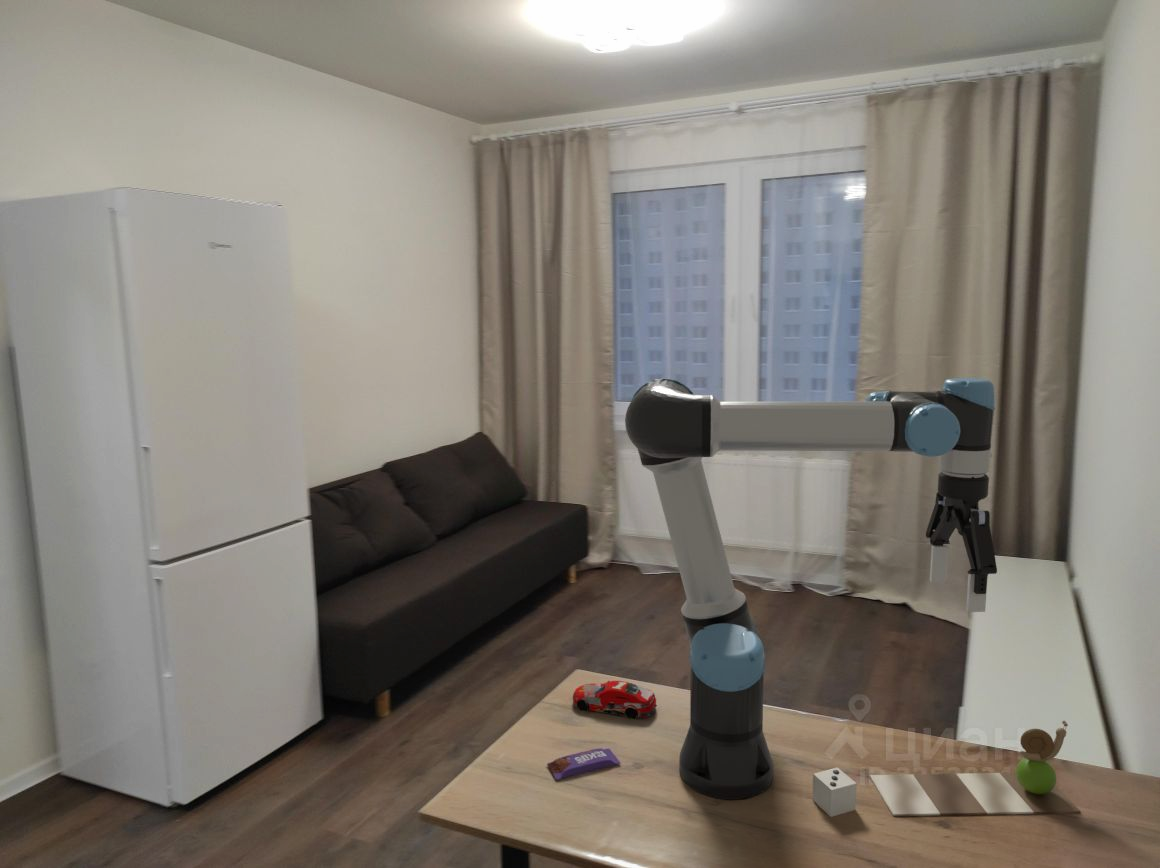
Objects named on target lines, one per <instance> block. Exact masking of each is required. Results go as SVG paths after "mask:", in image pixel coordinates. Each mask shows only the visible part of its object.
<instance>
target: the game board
mask: <svg viewBox="0 0 1160 868" xmlns="http://www.w3.org/2000/svg"><path fill="white" fill-rule="evenodd" d="M869 779H870V780H871V782H872V784H873V785H874V787H875V788H876V790H877V791H878V793H879V795H880V796H881V798H882V799H883V802H884V803H885V805H886V807H887V808H888V809H889V811H890V813H891V814H892V816H893V817H912V816H913V817H914V816H916V817H919V816H969V815H975V816H977V815H1018V814H1019V815H1024V814H1025V815H1028V814H1029V815H1030V814H1031V815H1033V814H1035V815H1036V814H1041V815H1042V814H1043V815H1044V814H1080V813H1081V810H1080V809H1079V807H1077V805H1076V804H1075V803H1073V802H1072V800H1070V799H1069V798H1068V796H1066V794H1064V792H1062V790H1061V789H1059V788H1058V786H1057V785H1055V787H1054V788H1053V789H1052V790H1051V791H1050V792H1048V793H1046V794H1034V793H1031V792H1029V791H1027V790H1026V789H1025V788H1023V787H1022V785H1021V784H1020V783H1019V781H1018V779H1017V775H1016V772H977V773H976V772H974V773H973V772H971V773H920V774H919V773H917V774H916V773H913V774H905V773H904V774H869Z"/></svg>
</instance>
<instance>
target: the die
mask: <svg viewBox="0 0 1160 868" xmlns="http://www.w3.org/2000/svg"><path fill="white" fill-rule="evenodd" d="M811 800H812V801H813V802H814V803H815V804H816V805H817V806H818V807H820V809H822V810H823V811H824V812H825V813H826V814H827V815H828V816H829V817H830V818H833V817H835V816H838V815H843V814H846V813H849V812H852V811H856V808H857V807H856V804H857V803H856V802H857V782H856V781H854V779H852V778H851V777H850V776H849V775H848V774H846V773H845V772H844V771H842V770H841V769H840V768H839V767H834V768H830V769H829V768H828V769H826V770H822V771H818V772H815V773H813V774H812V797H811Z"/></svg>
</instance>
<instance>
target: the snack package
mask: <svg viewBox="0 0 1160 868" xmlns="http://www.w3.org/2000/svg"><path fill="white" fill-rule="evenodd" d="M620 764H621V761H620V760H619V759H618V758H617V757H616V755H615V754H614V753H613V751H612V749H610V748H593V749H589V750H586V751H580V752H577V753H573V754H568V755H565V756H564V755H563V756H562V757H558V758H556V759H555V760H553V761H551V762H548V763H546V765H547V767H548V769H549V770H550V771H551V773H552V775H553V776H554V778H555V780H564V779H567V778H572V777H575V776H579V775H584V774H587V773H590V772H595V771H599V770H602V769H607V768H611V767H614V766H617V765H620Z"/></svg>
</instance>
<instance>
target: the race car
mask: <svg viewBox="0 0 1160 868" xmlns="http://www.w3.org/2000/svg"><path fill="white" fill-rule="evenodd" d="M572 702H573V705H574V706H575V707H576V708H578V710H579V711H584V712H587V711H591V712H599V713H603V714H609V715H610V714H611V715H616V716H621V717H627V719H633V720H636V719H642V718H648V717H650V716H651V715H653V714H654V712H655V710H656V708H657V706H658V705H657V697H656V695H655V693H654V691H652V690H650V689H648V688H645V687H643V686H641V685H638V684H635V683H632V682H628V681H622V680H608V681H606V682H604V683H586V684H582V685H580V686H578V687H577V688H576V689H575V690H574V692H573V694H572Z"/></svg>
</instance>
